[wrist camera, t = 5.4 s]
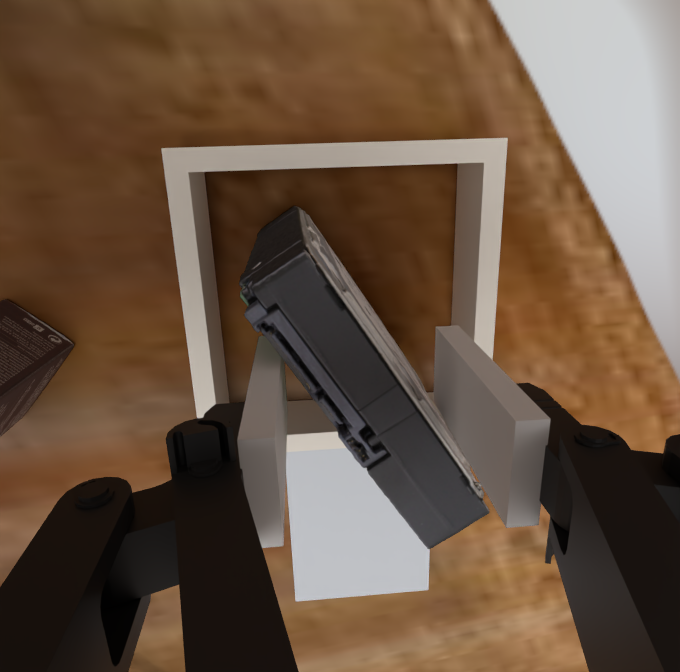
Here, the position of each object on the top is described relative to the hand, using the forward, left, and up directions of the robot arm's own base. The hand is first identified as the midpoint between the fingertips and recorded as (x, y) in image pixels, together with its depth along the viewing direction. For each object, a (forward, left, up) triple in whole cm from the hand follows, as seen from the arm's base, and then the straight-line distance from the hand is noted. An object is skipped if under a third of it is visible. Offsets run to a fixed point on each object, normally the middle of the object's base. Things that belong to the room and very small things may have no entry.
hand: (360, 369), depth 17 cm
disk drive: (0, 0, -12) cm, 12 cm away
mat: (+15, +1, -12) cm, 19 cm away
